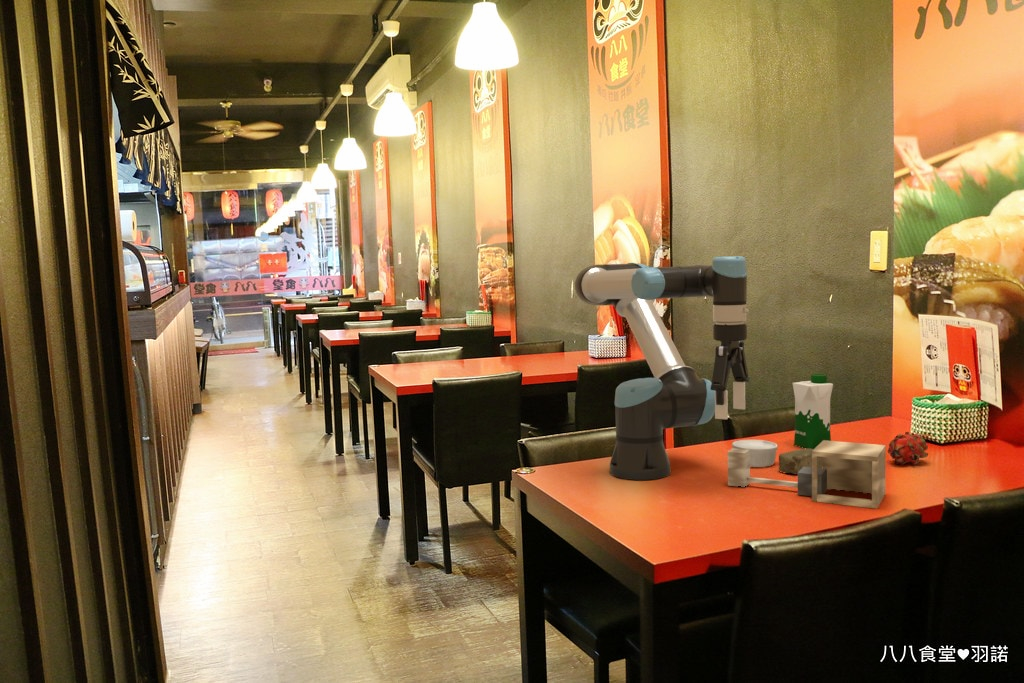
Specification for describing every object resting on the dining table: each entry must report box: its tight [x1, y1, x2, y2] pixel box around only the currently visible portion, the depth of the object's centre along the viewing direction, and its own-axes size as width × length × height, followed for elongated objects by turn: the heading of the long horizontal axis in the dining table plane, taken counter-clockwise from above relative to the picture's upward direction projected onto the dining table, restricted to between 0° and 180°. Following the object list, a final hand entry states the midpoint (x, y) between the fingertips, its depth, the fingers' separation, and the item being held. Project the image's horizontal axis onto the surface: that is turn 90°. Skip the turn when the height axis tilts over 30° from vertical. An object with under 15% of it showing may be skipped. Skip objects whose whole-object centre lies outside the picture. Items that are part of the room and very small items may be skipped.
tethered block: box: [727, 448, 828, 497], centre depth 186 cm, size 21×6×8 cm, turn 58°
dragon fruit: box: [887, 431, 929, 466], centre depth 205 cm, size 8×8×12 cm
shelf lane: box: [811, 440, 887, 510], centre depth 177 cm, size 13×12×11 cm
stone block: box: [778, 448, 823, 475], centre depth 202 cm, size 6×12×5 cm, turn 124°
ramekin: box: [731, 439, 779, 468], centre depth 210 cm, size 11×11×5 cm
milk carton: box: [791, 373, 834, 449], centre depth 226 cm, size 9×9×20 cm
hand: (730, 413), depth 190 cm, fingers open, 13 cm apart
